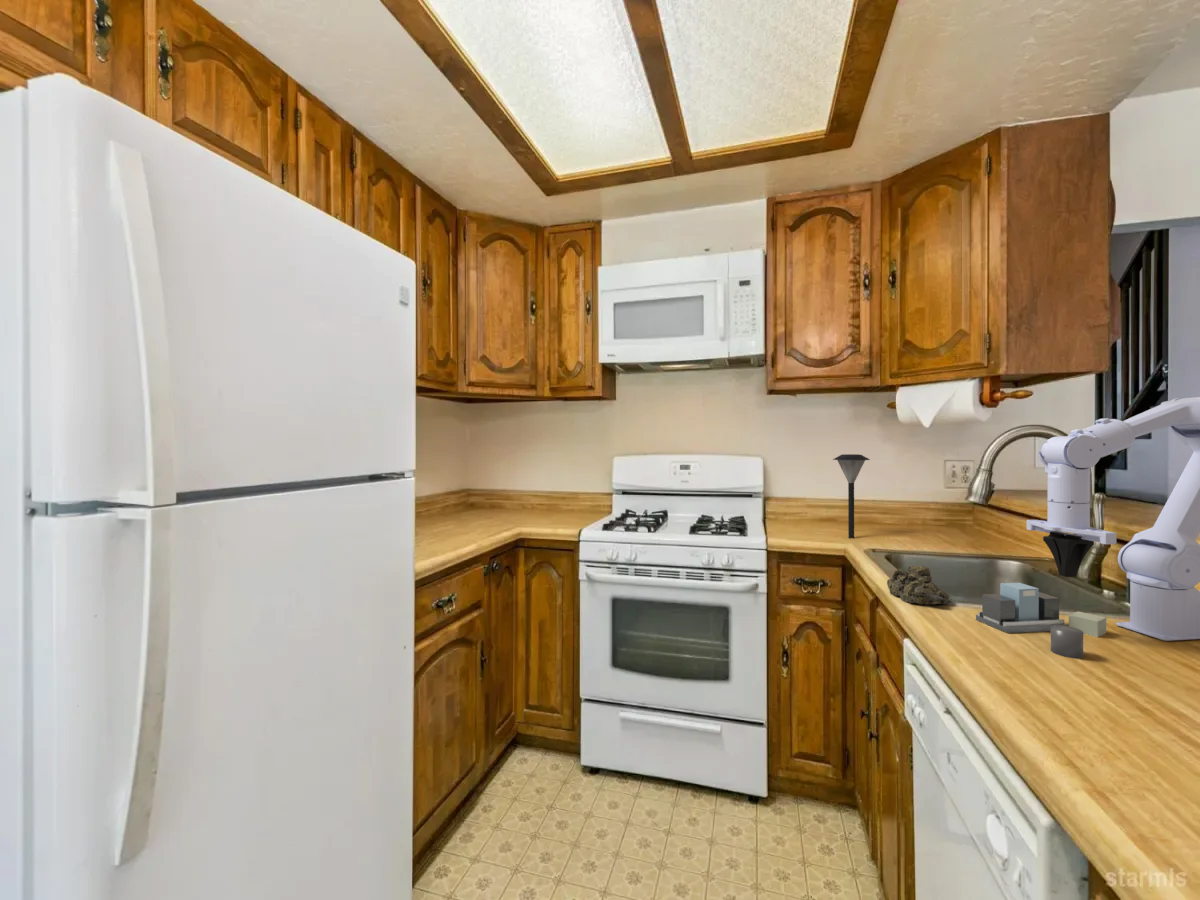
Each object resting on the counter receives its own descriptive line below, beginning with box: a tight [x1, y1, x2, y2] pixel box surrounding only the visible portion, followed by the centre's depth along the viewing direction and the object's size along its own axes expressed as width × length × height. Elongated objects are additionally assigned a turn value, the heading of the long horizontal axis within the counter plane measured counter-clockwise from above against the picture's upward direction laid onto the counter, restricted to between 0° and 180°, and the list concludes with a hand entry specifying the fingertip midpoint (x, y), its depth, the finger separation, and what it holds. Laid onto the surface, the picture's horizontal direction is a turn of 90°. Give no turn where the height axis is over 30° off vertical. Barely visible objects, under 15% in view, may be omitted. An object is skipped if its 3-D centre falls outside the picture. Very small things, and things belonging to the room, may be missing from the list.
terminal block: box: [1068, 611, 1107, 638], centre depth 94 cm, size 4×4×3 cm
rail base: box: [975, 591, 1068, 634], centre depth 98 cm, size 12×7×6 cm, turn 95°
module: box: [999, 582, 1040, 621], centre depth 97 cm, size 4×4×6 cm
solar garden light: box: [832, 453, 871, 539], centre depth 183 cm, size 12×12×30 cm
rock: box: [886, 565, 951, 606], centre depth 115 cm, size 13×10×10 cm
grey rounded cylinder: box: [1050, 625, 1084, 659], centre depth 85 cm, size 4×4×4 cm
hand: (1067, 576), depth 93 cm, fingers closed
